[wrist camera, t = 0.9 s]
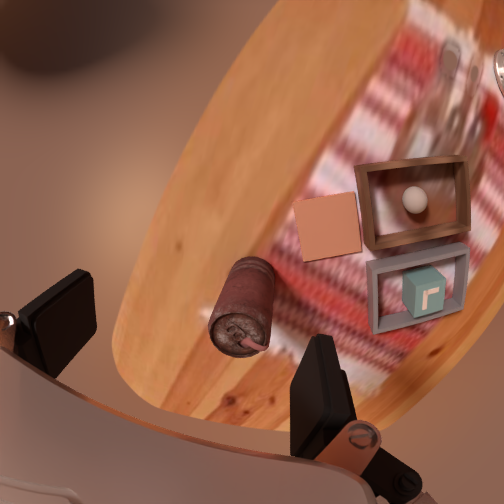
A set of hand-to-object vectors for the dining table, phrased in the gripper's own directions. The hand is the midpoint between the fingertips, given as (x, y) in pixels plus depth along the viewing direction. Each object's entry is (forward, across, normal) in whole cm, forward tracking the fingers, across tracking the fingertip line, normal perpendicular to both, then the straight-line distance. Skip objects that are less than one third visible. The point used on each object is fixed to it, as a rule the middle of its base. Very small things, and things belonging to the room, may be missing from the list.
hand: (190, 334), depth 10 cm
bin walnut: (+26, -21, -8) cm, 34 cm away
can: (+26, -2, +9) cm, 28 cm away
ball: (+26, -20, -7) cm, 34 cm away
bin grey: (+26, -26, +4) cm, 37 cm away
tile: (+26, -10, 0) cm, 28 cm away
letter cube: (+26, -26, +4) cm, 37 cm away
